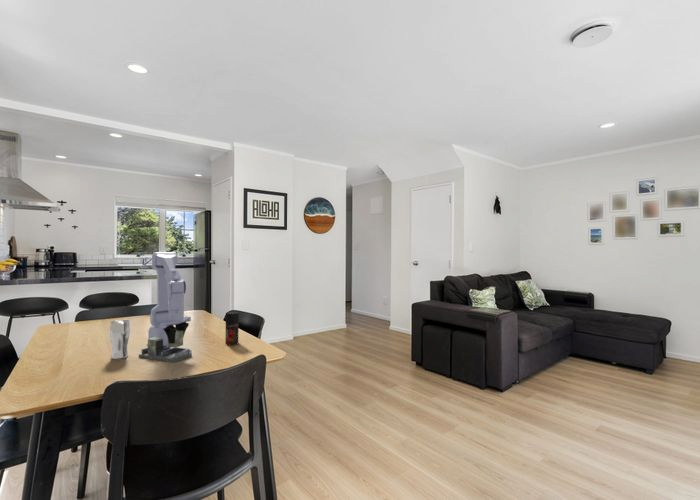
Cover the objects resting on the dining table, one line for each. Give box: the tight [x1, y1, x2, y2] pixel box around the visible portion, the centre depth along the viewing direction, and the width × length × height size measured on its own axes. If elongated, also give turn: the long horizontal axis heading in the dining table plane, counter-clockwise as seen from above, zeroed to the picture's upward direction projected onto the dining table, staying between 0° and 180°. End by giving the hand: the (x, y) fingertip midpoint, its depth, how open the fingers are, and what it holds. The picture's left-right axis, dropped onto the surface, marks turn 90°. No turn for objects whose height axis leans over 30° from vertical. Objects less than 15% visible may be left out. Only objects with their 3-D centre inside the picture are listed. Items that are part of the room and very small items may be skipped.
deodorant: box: [224, 311, 240, 346], centre depth 167 cm, size 6×6×15 cm
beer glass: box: [109, 319, 131, 360], centre depth 144 cm, size 7×7×15 cm
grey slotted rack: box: [138, 337, 193, 363], centre depth 146 cm, size 19×9×7 cm, turn 73°
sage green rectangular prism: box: [167, 330, 184, 348], centre depth 144 cm, size 4×4×6 cm
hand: (175, 341), depth 144 cm, fingers closed on sage green rectangular prism, 4 cm apart
